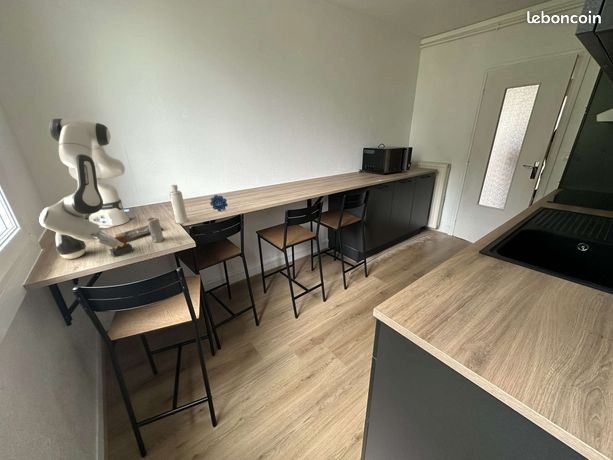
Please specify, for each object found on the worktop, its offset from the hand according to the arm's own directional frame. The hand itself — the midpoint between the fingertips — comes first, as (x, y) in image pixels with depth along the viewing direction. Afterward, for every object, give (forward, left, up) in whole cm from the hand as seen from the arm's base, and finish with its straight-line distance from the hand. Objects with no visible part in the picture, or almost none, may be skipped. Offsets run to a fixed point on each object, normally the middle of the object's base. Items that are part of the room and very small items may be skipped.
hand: (121, 243), depth 121 cm
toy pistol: (-2, +23, -5) cm, 23 cm away
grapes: (+37, +55, -5) cm, 66 cm away
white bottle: (+16, +39, -5) cm, 42 cm away
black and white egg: (-21, 0, -5) cm, 22 cm away
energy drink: (+12, +12, -5) cm, 17 cm away
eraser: (0, 0, -5) cm, 5 cm away
